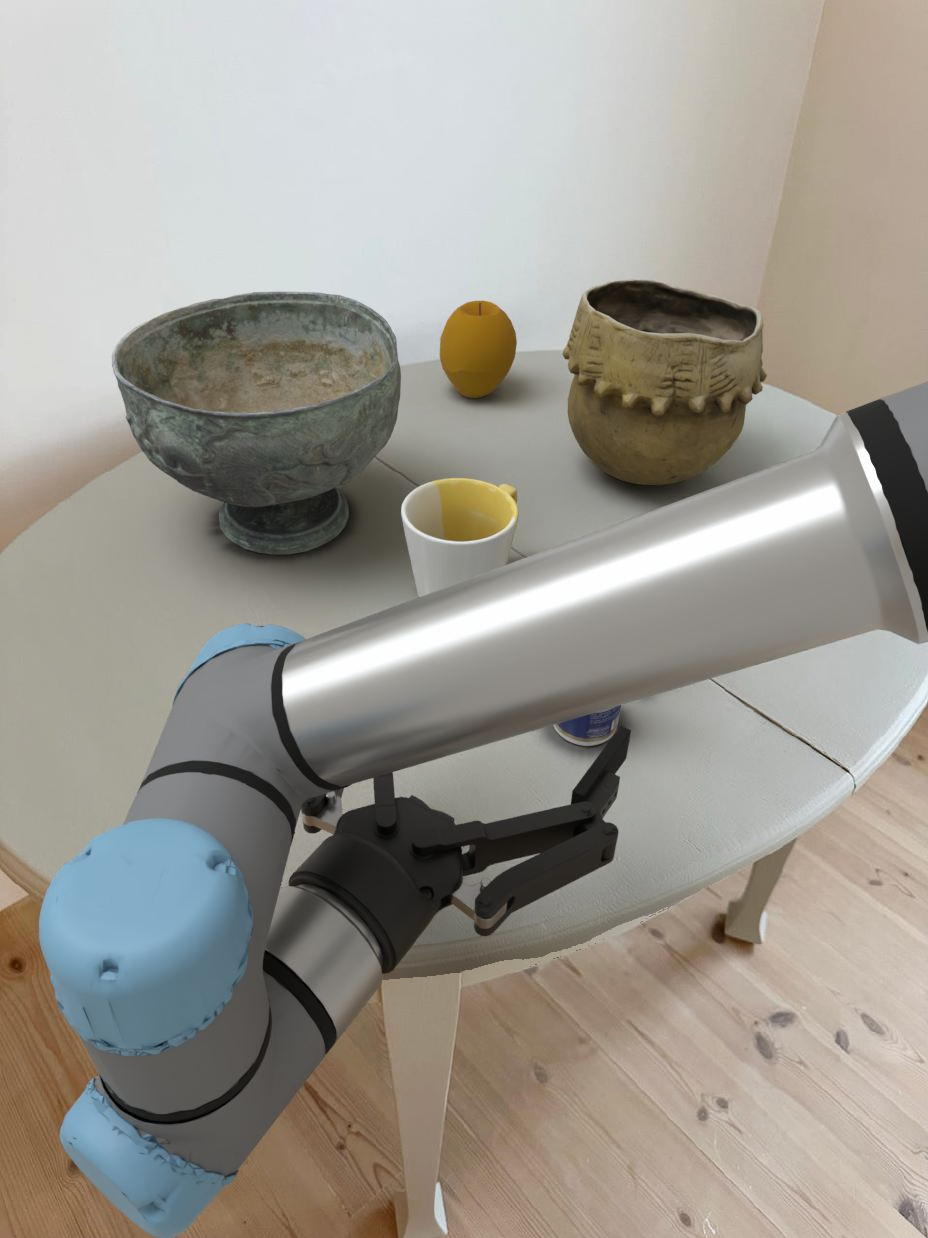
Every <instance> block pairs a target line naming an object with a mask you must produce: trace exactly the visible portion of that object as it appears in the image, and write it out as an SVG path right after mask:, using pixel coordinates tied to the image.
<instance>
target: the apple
mask: <svg viewBox="0 0 928 1238" xmlns="http://www.w3.org/2000/svg"><path fill="white" fill-rule="evenodd" d="M517 344H518V340H517V333H516V330H515V327H514V325H513V322H512V320H511V318H510V317H509V316H508V314H507V313H506V311H504V310H503V309H502V308H500V307H499V306H498V305H497V304H496V303H494V302H492V301H488V300H472V301H467V302H466V303H463V304H462V305H460V306H458V307H457V308H456V309H455V310H454V311H453V312H452V313H451V314H450V316H449V317H448V318H447V320H446V322H445V325H444V328H443V330H442V333H441V335H440V338H439V361H440V364H441V367H442V370H443V371H444V373H445V375H446V376H447V378H448V380H449V382H450V383H451V384H452V386H453V387H454V389H456V391H457V392H458V393H459V395H461V396H464V397H466V398H470V399H479V398H482V397H485V396H488V395H490V394H492V392H494V391H495V390H496V389H497V387H499V385H500V384H501V383H502V382H503V381H504V380H505V379H506V377H507V376H508V374H509V372H510V371H511V368H512V365H513V363H514V361H515V358H516V352H517Z"/></svg>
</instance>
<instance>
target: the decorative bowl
mask: <svg viewBox="0 0 928 1238" xmlns="http://www.w3.org/2000/svg"><path fill="white" fill-rule="evenodd" d="M399 361H400V360H399V355H398V344H397V337H396V335H395V333H394V332H393V330H392V327H391V326H390V324H389V322H388V321H387V320H386V318H384V317H383V316H382V315H381V314H380V313H378V312H377V311H376V310H374V309H373V308H372V307H370V306H368V305H366V304H364V303H362V302H360V301H358V300H356V299H353V298H350V297H347V296H344V295H340V294H331V293H325V292H324V293H323V292H314V291H313V292H312V291H311V292H310V291H253V292H248V293H241V294H235V295H231V296H227V297H224V298H212V299H208V300H204V301H200V302H199V301H198V302H195V303H192V304H189V305H186V306H181V307H178V308H176V309H173V310H171V311H167V312H163V313H162V314H159V315H158V316H156V317H152V318H151V319H149V320H146V321H144V322H142V323H140V324H139V325H137V326H135V327H134V328H132V329H131V330H130V331H128V332H127V333H126V334H125V335H123V337H122V338H120V340H119V341H118V342H117V343H116V346H115V347H114V348H113V351H112V354H111V367H112V371H113V374H114V376H115V378H116V381H117V387H118V389H119V392H120V395H121V398H122V401H123V404H124V409H125V414H126V415H125V419H126V421H127V423H128V426H129V428H130V431H131V434H132V436H133V437H134V440H135V441H136V443H137V445H138V447H139V448H140V451H141V452H142V453H143V454H144V455H145V456H146V458H147V459H148V461H149V462H150V463H152V465H153V466H155V467H156V468H157V469H159V470H160V471H161V472H163V473H164V474H166V475H168V476H169V477H170V478H172V479H174V480H175V481H176V482H178V484H180V485H182V486H184V487H185V488H188V489H189V490H191V491H192V492H195V493H198V494H199V495H203V496H206V497H207V498H211V499H214V500H216V501H218V502H221V503H222V504H221V506H220V509H219V513H218V520H219V522H218V523H219V529H220V530H221V531H222V533H223V534H224V536H225V537H226V538H227V539H228V540H229V541H231V542H232V543H233V544H235V545H236V546H239V547H240V548H242V549H244V550H248V551H251V552H255V553H259V554H267V555H293V554H299V553H305V552H306V553H307V552H309V551H311V550H314V549H317V548H320V547H322V546H324V545H325V544H327V543H329V542H331V541H332V540H334V539H335V538H337V537H338V536H339V534H340V533H341V532H342V531H343V530H344V528H345V527H346V525H347V522H348V520H349V515H350V514H349V513H350V512H349V505H348V501H347V498H346V496H345V495H344V494H343V492H342V491H341V490H340V489H339V488H338V487H340V486H342V485H343V486H344V485H345V484H347V483H349V482H351V481H352V480H354V479H355V478H357V477H358V476H360V475H361V474H362V473H363V471H365V470H366V468H367V467H368V465H369V464H370V463H371V462H372V461H373V460H374V459H375V458H376V456H377V455H378V454H379V453H380V452H381V451H382V450H383V449H384V448H385V447H386V445H387V444H388V442H389V440H390V439H391V437H392V434H393V432H394V429H395V426H396V424H397V420H398V416H399V415H398V414H399V405H400V401H401V387H402V373H401V365H400V362H399Z"/></svg>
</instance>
